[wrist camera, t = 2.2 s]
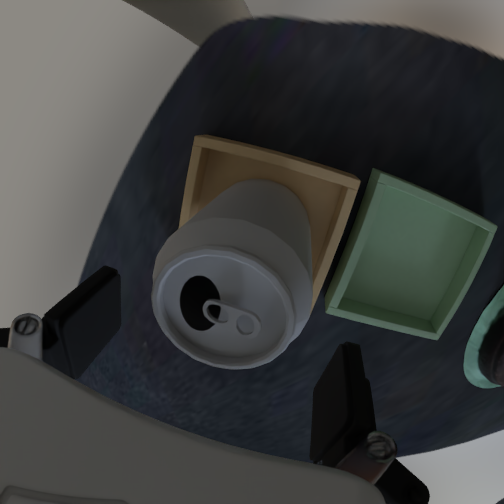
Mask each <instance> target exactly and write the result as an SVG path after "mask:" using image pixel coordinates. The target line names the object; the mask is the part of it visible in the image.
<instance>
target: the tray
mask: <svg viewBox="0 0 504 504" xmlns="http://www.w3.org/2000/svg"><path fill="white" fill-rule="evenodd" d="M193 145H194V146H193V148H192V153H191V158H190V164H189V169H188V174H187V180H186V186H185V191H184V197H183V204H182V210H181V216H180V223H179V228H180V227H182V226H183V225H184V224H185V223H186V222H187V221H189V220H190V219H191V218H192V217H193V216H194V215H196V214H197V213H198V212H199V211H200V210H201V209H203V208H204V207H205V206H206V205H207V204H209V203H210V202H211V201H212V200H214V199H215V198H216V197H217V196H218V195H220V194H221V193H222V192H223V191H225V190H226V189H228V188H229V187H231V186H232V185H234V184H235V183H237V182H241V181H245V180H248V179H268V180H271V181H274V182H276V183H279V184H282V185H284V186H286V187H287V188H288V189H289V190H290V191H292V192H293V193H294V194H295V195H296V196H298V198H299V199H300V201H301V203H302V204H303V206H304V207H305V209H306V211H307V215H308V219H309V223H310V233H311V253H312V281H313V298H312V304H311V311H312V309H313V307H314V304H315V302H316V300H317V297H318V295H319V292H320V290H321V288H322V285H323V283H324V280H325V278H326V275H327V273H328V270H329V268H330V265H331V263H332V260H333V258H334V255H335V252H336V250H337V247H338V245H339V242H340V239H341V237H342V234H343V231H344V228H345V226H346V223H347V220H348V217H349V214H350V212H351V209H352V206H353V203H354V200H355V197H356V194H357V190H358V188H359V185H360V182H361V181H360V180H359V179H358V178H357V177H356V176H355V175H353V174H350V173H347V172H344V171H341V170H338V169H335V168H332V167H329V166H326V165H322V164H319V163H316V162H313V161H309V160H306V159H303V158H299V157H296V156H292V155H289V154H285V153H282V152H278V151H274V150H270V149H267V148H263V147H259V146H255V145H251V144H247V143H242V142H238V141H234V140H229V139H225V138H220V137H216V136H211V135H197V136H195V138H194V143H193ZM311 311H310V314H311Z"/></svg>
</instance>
